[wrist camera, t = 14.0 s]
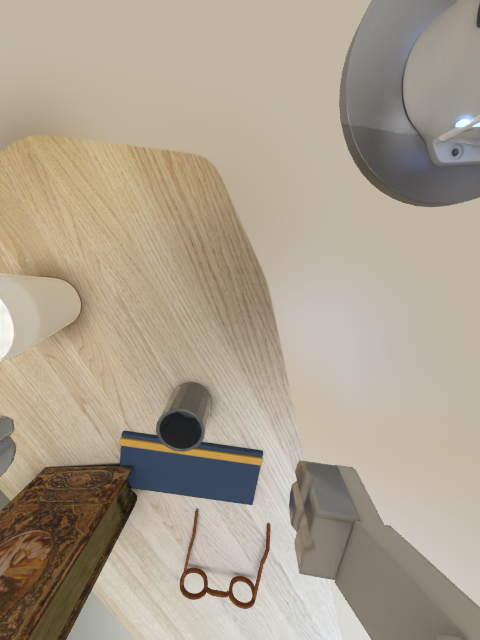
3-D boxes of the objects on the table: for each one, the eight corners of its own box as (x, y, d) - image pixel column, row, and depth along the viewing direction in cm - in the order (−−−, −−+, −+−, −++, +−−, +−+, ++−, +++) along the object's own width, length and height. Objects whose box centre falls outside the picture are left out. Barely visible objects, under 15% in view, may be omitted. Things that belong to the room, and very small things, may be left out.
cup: (72, 260, 34) (-16, 260, 23) (101, 322, 36) (32, 353, 25) (13, 280, 35) (-103, 291, 23) (44, 341, 37) (-49, 378, 25)
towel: (262, 450, 41) (263, 455, 40) (252, 501, 43) (252, 507, 42) (123, 430, 40) (120, 435, 39) (120, 482, 43) (117, 488, 42)
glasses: (183, 564, 47) (176, 600, 42) (195, 508, 44) (189, 539, 39) (254, 578, 47) (255, 614, 42) (271, 522, 44) (274, 555, 39)
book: (47, 495, 43) (-223, 793, 19) (38, 467, 42) (-260, 748, 18) (140, 494, 42) (-24, 816, 18) (134, 465, 41) (-50, 768, 16)
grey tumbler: (214, 385, 38) (207, 413, 31) (209, 420, 40) (201, 454, 33) (173, 379, 38) (158, 406, 31) (170, 415, 39) (154, 447, 33)
